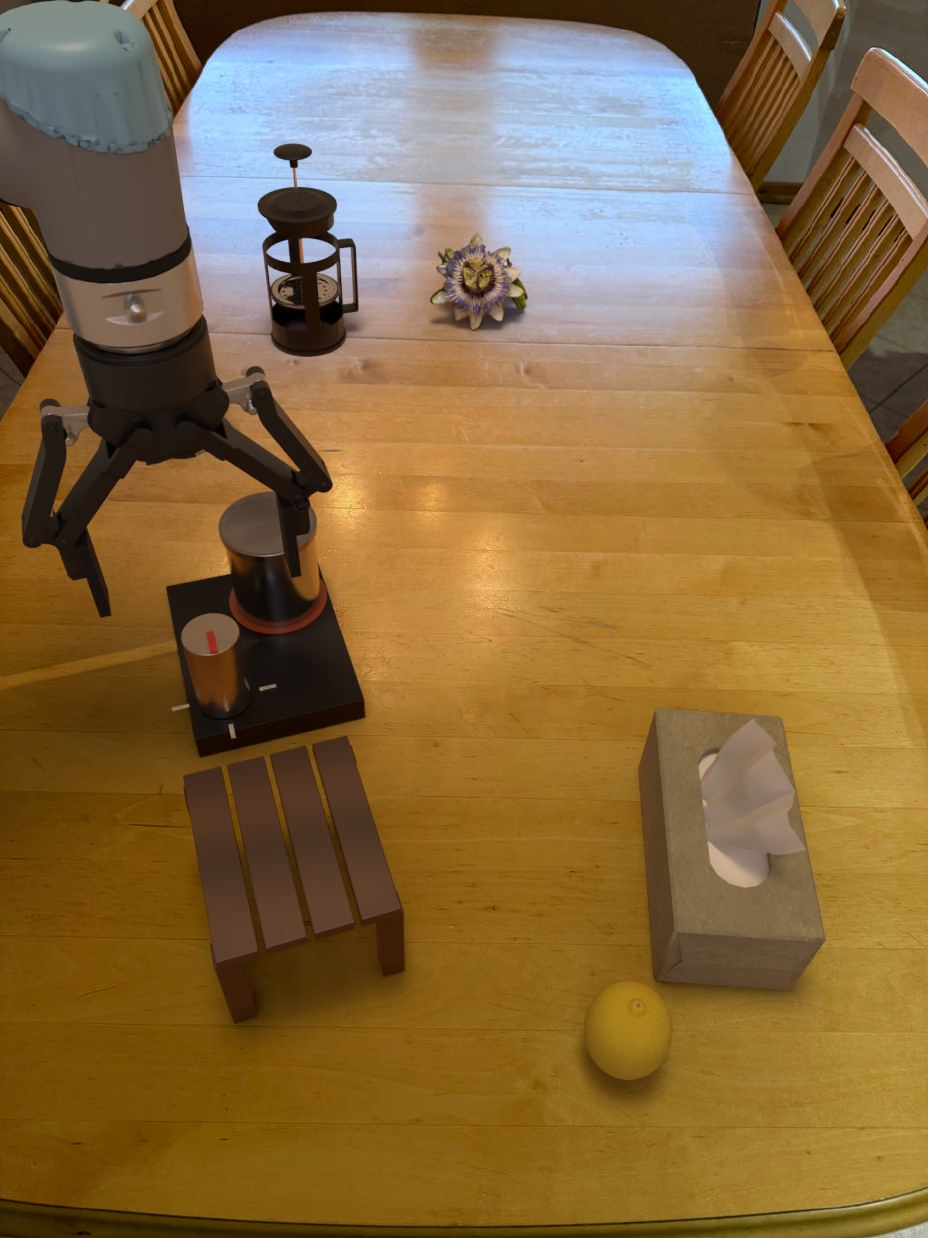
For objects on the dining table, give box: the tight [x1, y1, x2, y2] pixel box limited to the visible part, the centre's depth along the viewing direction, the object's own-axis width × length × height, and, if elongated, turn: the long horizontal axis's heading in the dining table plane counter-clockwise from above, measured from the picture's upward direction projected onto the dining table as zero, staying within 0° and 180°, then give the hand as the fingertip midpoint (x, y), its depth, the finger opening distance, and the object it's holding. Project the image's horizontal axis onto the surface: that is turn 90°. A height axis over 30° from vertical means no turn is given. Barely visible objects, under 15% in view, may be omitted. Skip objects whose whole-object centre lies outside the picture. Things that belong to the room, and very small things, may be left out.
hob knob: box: [181, 613, 252, 719], centre depth 79 cm, size 4×4×8 cm
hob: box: [165, 563, 366, 758], centre depth 87 cm, size 19×15×3 cm
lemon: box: [583, 980, 673, 1081], centre depth 63 cm, size 6×6×8 cm
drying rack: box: [182, 735, 406, 1024], centre depth 69 cm, size 14×12×10 cm
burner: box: [229, 577, 328, 635], centre depth 90 cm, size 9×9×1 cm
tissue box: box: [638, 707, 827, 991], centre depth 70 cm, size 19×10×16 cm, turn 177°
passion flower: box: [429, 232, 529, 331], centre depth 127 cm, size 11×11×12 cm
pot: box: [217, 490, 321, 627], centre depth 87 cm, size 8×8×9 cm
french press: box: [257, 142, 360, 357], centre depth 116 cm, size 12×9×23 cm
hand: (200, 584), depth 72 cm, fingers open, 13 cm apart
